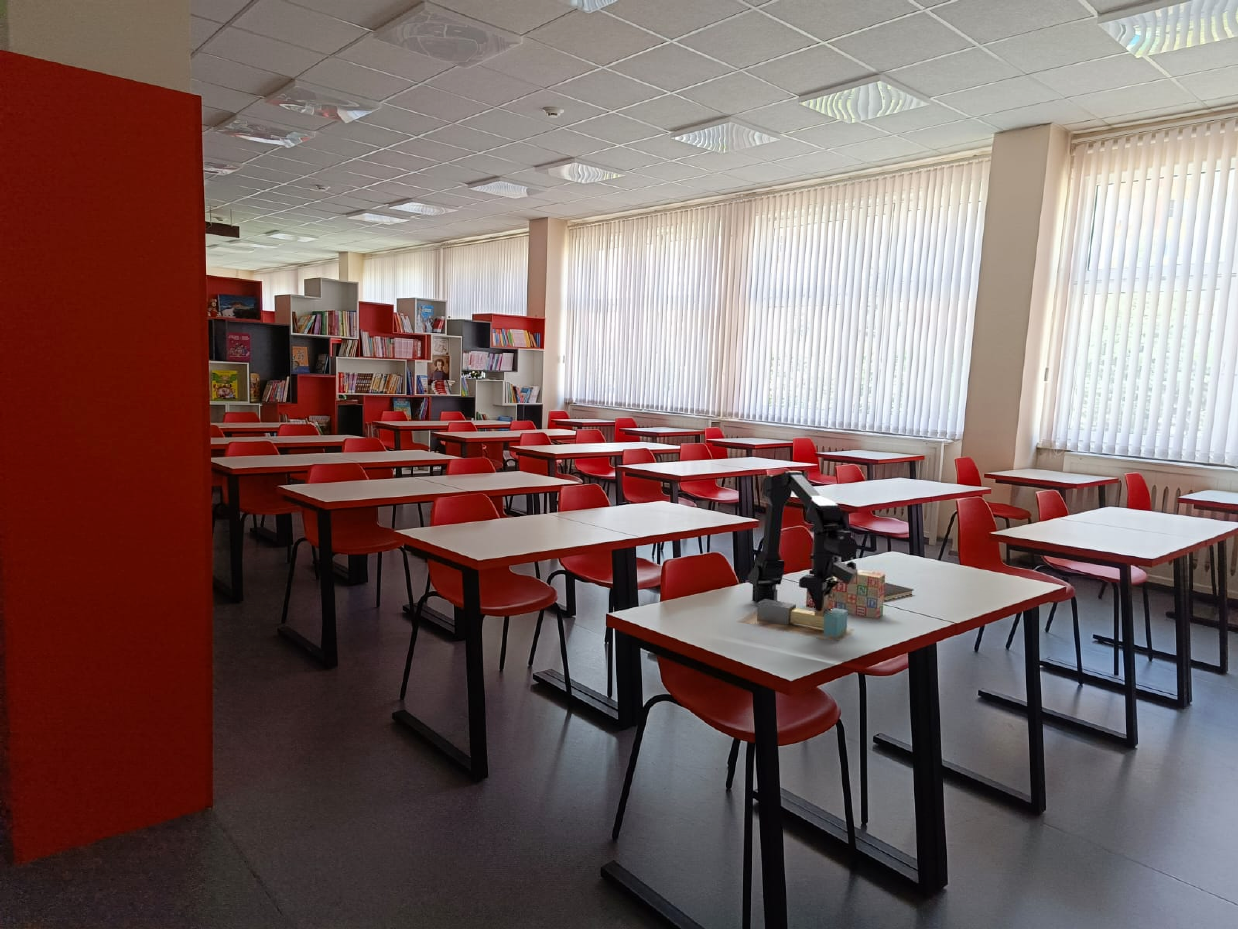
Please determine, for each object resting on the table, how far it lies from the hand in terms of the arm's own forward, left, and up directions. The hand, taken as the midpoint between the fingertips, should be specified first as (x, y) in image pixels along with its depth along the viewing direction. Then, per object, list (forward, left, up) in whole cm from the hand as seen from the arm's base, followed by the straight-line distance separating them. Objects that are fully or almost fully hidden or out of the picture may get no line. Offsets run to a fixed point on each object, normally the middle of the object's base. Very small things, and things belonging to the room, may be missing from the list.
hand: (821, 609), depth 199 cm
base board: (-7, 0, -6) cm, 10 cm away
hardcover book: (-4, +56, -7) cm, 57 cm away
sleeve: (-12, 0, -6) cm, 14 cm away
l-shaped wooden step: (-5, 0, -5) cm, 7 cm away
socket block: (+4, 0, -6) cm, 7 cm away
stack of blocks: (-2, +27, -7) cm, 28 cm away
